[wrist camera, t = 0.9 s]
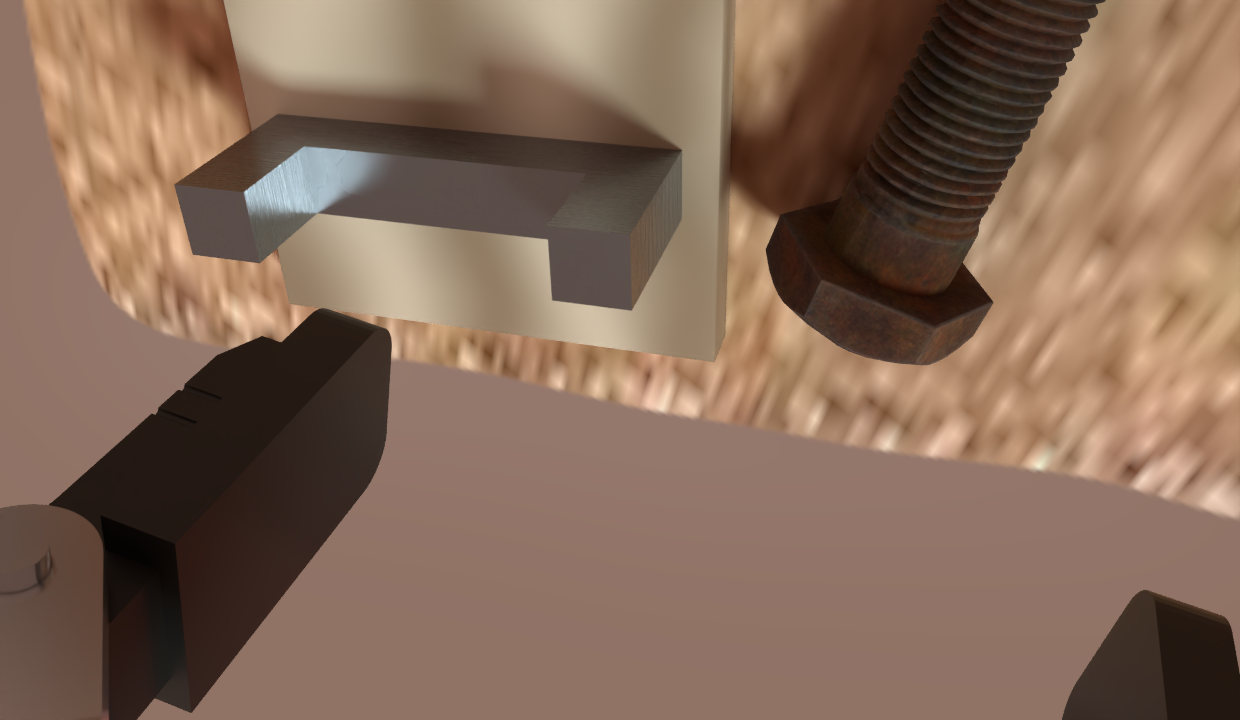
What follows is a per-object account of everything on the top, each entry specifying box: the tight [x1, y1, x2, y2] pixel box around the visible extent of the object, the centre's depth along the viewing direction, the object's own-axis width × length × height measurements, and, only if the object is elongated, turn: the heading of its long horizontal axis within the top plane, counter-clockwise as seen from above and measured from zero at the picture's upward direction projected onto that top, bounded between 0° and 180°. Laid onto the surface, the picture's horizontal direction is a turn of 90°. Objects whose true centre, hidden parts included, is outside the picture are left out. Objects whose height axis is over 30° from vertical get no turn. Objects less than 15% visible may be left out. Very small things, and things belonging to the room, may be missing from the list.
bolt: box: [766, 0, 1105, 365], centre depth 25 cm, size 6×5×15 cm
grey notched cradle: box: [174, 114, 682, 311], centre depth 27 cm, size 12×11×5 cm
